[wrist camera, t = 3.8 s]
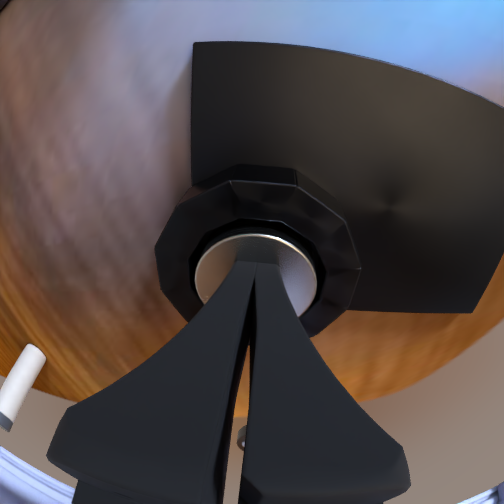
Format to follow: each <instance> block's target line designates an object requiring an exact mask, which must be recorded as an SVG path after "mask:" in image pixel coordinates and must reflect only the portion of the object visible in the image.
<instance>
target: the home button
mask: <svg viewBox="0 0 504 504" xmlns="http://www.w3.org/2000/svg"><path fill="white" fill-rule="evenodd" d="M236 261H246V262H257V263H267V264H277V266H278V267H279V268H280V273H281V277H282V280H283V283H284V286H285V288H286V291H287V294H288V296H289V299H290V301H291V303H292V305H293V307H294V310H295V312H296V314H297V316H298V317H300V316H301V315H302V314H303V313H304V312H305V311H306V310H307V309H308V307H309V306H310V305H311V303H312V301H313V299H314V297H315V294H316V289H317V277H316V270H315V263H314V257H313V251H312V246H311V243H310V240H308V239H307V238H305V237H304V236H302V235H301V234H299V233H298V232H296V231H295V230H293V229H292V228H290V227H289V226H287V225H285V224H284V223H282V222H277V221H267V220H256V219H244V218H239V219H237V220H235V221H232V222H230V223H227V224H225V225H223V226H220V227H218V228H216V229H214V230H212V231H211V233H210V235H209V236H208V239H207V241H206V244H205V246H204V249H203V251H202V254H201V256H200V259H199V261H198V264H197V267H196V271H195V285H196V289H197V292H198V295H199V297H200V299H201V301H202V302H203V303H204V305H205V304H206V302H207V301H208V300H209V299H210V297H211V296H212V295H213V293H214V292H215V291H216V290H217V288H218V287H219V286H220V284H221V283H222V281H223V280H224V279H225V277H226V276H227V274H228V272H229V271H230V269H231V267H232V265H233V264H234V263H235V262H236Z"/></svg>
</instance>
